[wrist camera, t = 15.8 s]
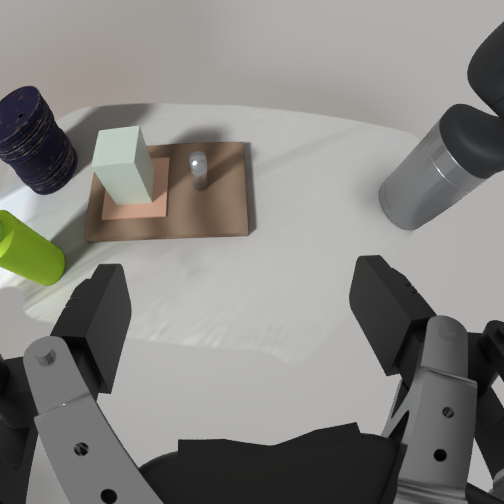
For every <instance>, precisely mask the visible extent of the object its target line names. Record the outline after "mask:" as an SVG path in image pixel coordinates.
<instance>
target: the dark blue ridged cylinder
mask: <svg viewBox="0 0 504 504" xmlns="http://www.w3.org/2000/svg"><path fill="white" fill-rule="evenodd" d="M0 158H1V160H3V161H4V162H6V163H7V164H10V166H11V167H12V168H13V169H14V170H15V172H16V174H17V175H18V176H19V177H20V178H21V180H22V181H23V182H24V183H25V184H26V185H27V186H29V187H30V188H31V189H32V190H33V191H34V192H36V193H37V194H40V195H48V194H52V193H54V192H56V191H58V190H59V189H61V188H62V187H63V186H64V185H66V183H67V182H68V181H69V180H70V179H71V177H72V176H73V174H74V172H75V169H76V166H77V161H78V159H77V153H76V151H75V149H74V148H73V147H72V144H71V142H70V140H69V139H68V137H67V136H66V135H65V133H64V132H63V131H62V129H60V128H59V127H58V125H57V124H56V122H55V120H54V116H53V113H52V111H51V110H50V108H49V106H48V104H47V103H46V101H45V100H44V99H43V97H42V96H41V94H40V92H39V90H38V89H37V88H36V87H34V86H25V87H21V88H19V89H17V90H15V91H13V92H11V93H10V94H8V95H7V96H6V97H4V98H3V99H2V100H1V101H0Z"/></svg>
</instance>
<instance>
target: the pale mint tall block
mask: <svg viewBox="0 0 504 504" xmlns="http://www.w3.org/2000/svg"><path fill="white" fill-rule="evenodd" d="M91 167H92V169H93V170H94V172H95V174H96V175H97V177H98V178H99V180H100V181H101V183H102V184H103V186H104V187H105V189H106V190H107V192H108V193H109V195H110V196H111V197H112V199H113V200H114V202H115V203H116V205H128V204H142V203H152V197H153V184H154V171H155V170H154V167H153V164H152V162H151V159H150V156H149V153H148V150H147V147H146V144H145V141H144V138H143V135H142V132H141V129H140V126H132V127H123V128H115V129H108V130H101V131H99V133H98V137H97V142H96V146H95V151H94V155H93V160H92V165H91Z"/></svg>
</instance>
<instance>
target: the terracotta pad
mask: <svg viewBox="0 0 504 504" xmlns="http://www.w3.org/2000/svg"><path fill="white" fill-rule="evenodd" d="M169 160H170V158H169V157H167V158H152V159H151V162H152V164H153V167H154V170H155V171H154V184H153V197H152V203H142V204H128V205H116V203H115V202H114V200H113V199H112V197H111V196H110V195H109V193H108V192H107V190H106V189H105V196H104V204H103V212H102V220H114V219H131V218H150V217H166V209H167V190H168V174H169Z"/></svg>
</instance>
